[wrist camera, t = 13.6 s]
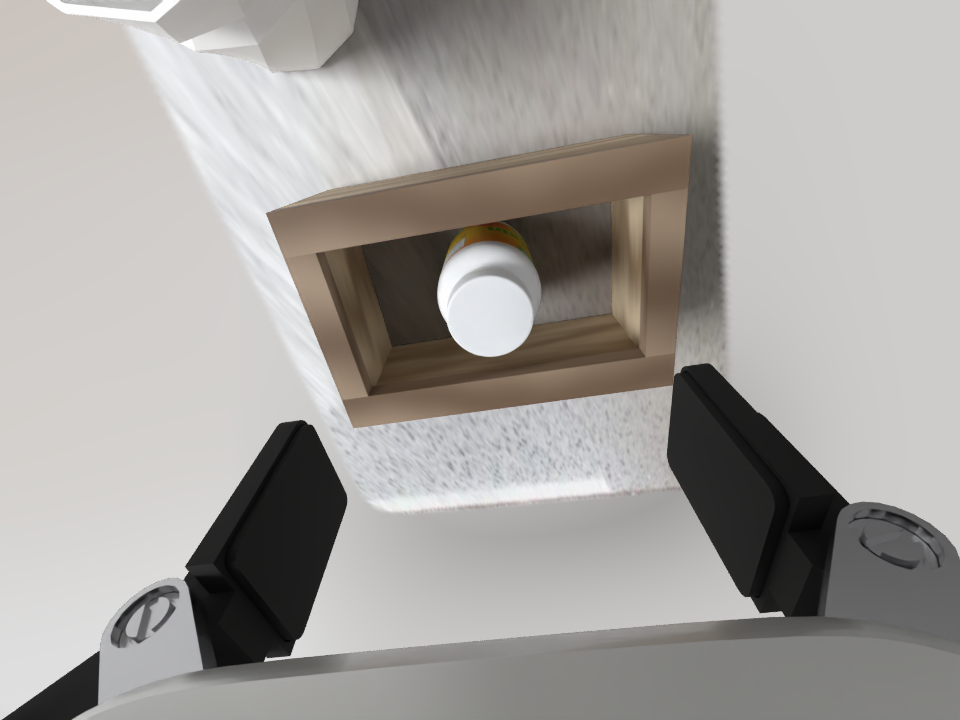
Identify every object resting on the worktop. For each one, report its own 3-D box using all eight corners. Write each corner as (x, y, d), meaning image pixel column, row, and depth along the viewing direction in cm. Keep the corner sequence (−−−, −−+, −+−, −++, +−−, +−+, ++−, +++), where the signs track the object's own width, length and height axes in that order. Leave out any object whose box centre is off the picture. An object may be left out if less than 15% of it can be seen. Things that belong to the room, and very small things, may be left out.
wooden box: (327, 190, 25) (266, 213, 18) (628, 134, 23) (692, 134, 16) (382, 360, 30) (353, 428, 23) (626, 324, 29) (672, 385, 22)
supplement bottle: (545, 250, 26) (576, 305, 18) (497, 313, 28) (503, 389, 20) (477, 199, 25) (475, 233, 16) (431, 270, 27) (408, 332, 18)
